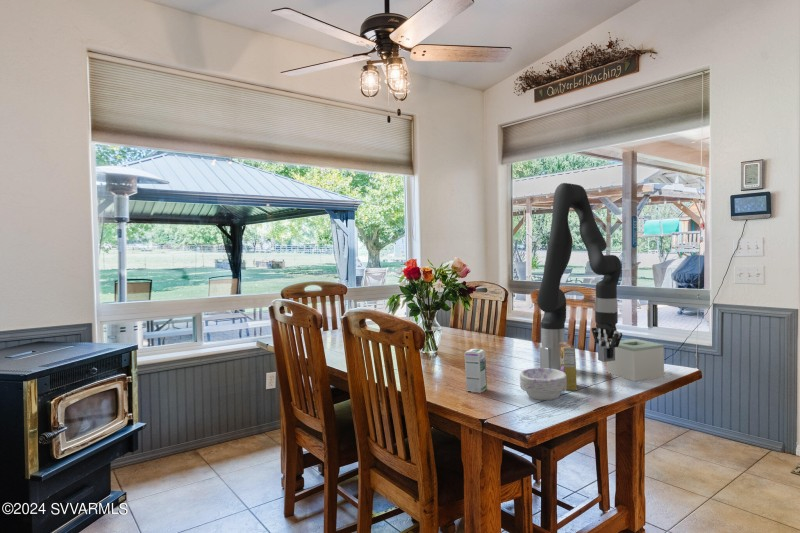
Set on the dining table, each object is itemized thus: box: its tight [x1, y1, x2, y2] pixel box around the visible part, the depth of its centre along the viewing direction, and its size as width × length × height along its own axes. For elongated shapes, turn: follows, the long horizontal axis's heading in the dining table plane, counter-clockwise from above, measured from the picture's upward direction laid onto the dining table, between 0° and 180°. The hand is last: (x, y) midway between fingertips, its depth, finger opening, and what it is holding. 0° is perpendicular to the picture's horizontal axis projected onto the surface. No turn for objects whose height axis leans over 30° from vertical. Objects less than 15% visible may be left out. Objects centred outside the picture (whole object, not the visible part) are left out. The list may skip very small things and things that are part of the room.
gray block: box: [597, 345, 615, 363], centre depth 176 cm, size 5×3×5 cm, turn 108°
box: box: [606, 338, 665, 382], centre depth 185 cm, size 14×14×12 cm
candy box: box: [559, 341, 578, 391], centre depth 173 cm, size 9×4×15 cm, turn 171°
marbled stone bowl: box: [519, 367, 567, 401], centre depth 164 cm, size 15×15×8 cm
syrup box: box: [464, 348, 488, 394], centre depth 173 cm, size 6×6×14 cm
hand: (606, 357), depth 176 cm, fingers closed on gray block, 2 cm apart
